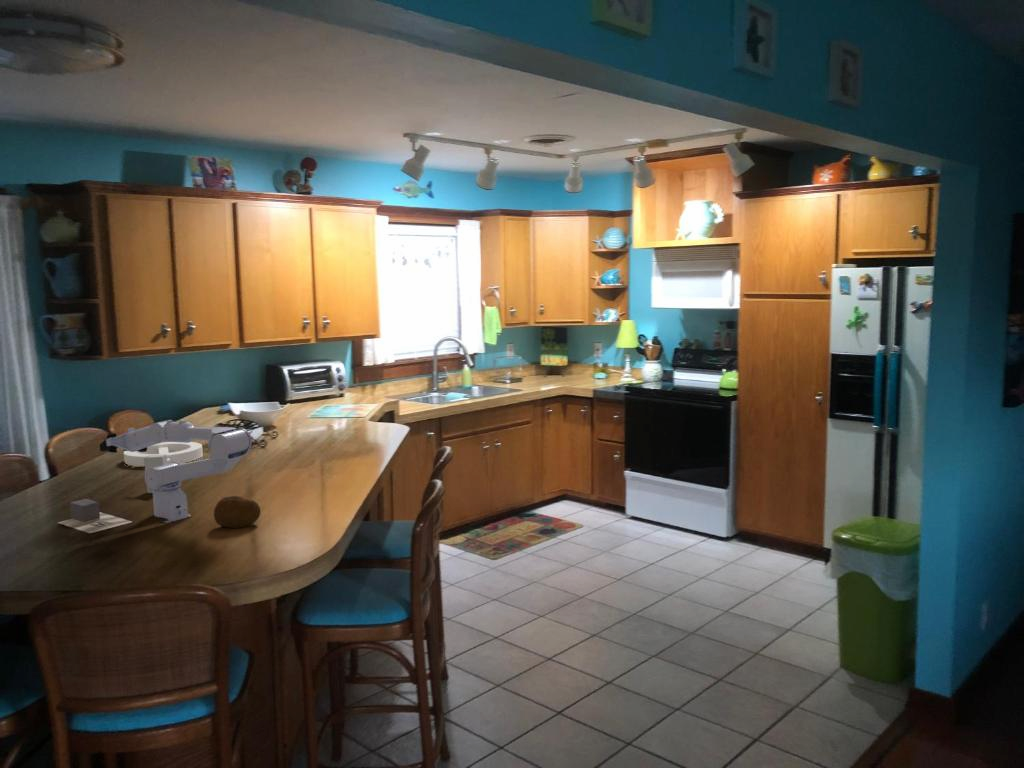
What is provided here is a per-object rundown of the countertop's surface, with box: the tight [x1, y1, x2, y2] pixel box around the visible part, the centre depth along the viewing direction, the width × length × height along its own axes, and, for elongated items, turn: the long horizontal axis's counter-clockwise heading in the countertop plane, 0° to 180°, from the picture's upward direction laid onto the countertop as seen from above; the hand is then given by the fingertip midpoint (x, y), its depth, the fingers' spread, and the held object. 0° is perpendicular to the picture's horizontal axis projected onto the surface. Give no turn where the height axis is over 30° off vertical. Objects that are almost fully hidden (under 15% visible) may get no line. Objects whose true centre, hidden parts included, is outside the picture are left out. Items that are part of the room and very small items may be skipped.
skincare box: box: [144, 455, 167, 494], centre depth 257 cm, size 6×4×12 cm
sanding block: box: [69, 498, 100, 523], centre depth 224 cm, size 7×4×5 cm, turn 55°
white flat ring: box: [123, 441, 204, 466], centre depth 306 cm, size 28×28×5 cm
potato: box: [213, 495, 261, 529], centre depth 218 cm, size 8×12×9 cm
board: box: [57, 511, 133, 534], centre depth 221 cm, size 18×12×1 cm, turn 55°
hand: (112, 447), depth 235 cm, fingers open, 7 cm apart
